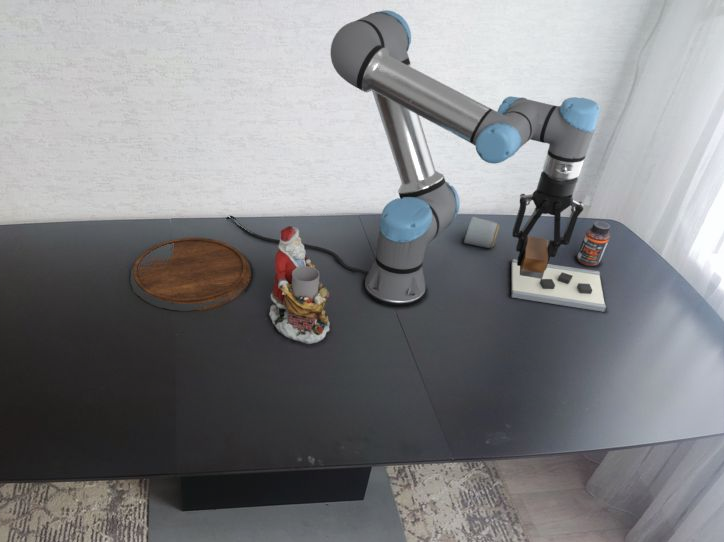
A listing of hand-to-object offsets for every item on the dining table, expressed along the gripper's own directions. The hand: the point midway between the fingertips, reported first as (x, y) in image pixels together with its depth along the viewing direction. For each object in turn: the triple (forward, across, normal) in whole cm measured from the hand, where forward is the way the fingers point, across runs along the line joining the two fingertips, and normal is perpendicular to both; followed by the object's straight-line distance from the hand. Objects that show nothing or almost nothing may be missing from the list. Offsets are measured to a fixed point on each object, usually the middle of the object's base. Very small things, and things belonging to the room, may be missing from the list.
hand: (531, 264), depth 157 cm
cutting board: (+12, -83, -14) cm, 85 cm away
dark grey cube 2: (+11, +11, +13) cm, 20 cm away
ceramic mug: (+12, -12, +27) cm, 32 cm away
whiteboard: (+12, +9, +11) cm, 18 cm away
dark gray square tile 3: (+11, +15, +10) cm, 21 cm away
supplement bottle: (+12, +17, +26) cm, 34 cm away
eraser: (0, 0, 0) cm, 0 cm away
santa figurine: (+12, -50, -25) cm, 57 cm away
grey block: (+11, +6, +9) cm, 15 cm away
